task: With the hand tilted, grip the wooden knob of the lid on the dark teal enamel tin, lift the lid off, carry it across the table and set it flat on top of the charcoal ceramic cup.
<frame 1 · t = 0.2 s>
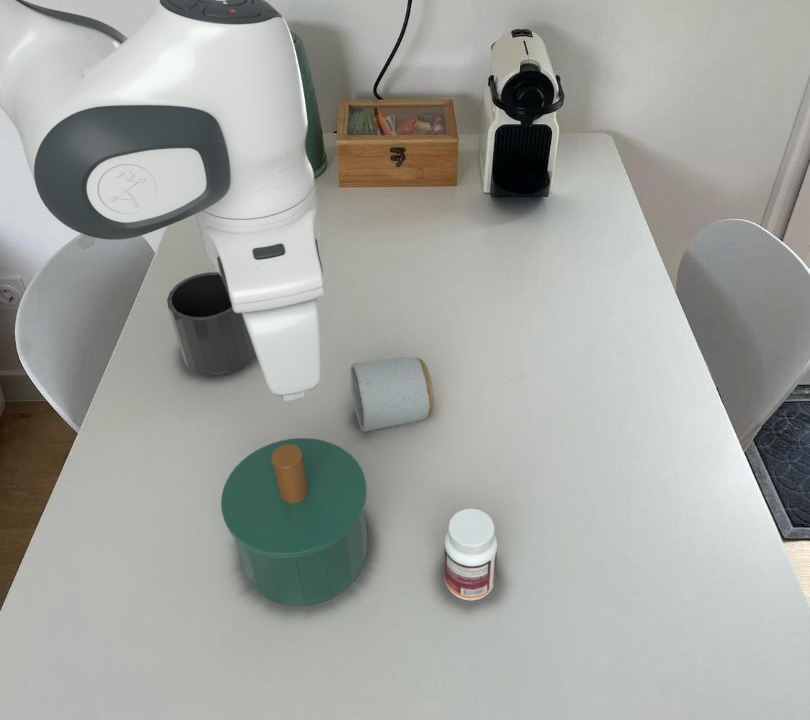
hand: (283, 355, 69), 21 cm above the table, tool pointing down, fingers open, 8 cm apart
cup: (220, 352, 101), on the table
pill bottle: (469, 580, 76), on the table
tin: (305, 550, 79), on the table
ceramic mug: (387, 408, 93), on the table
tin lid: (294, 496, 73), point 8 cm above the table, touching tin
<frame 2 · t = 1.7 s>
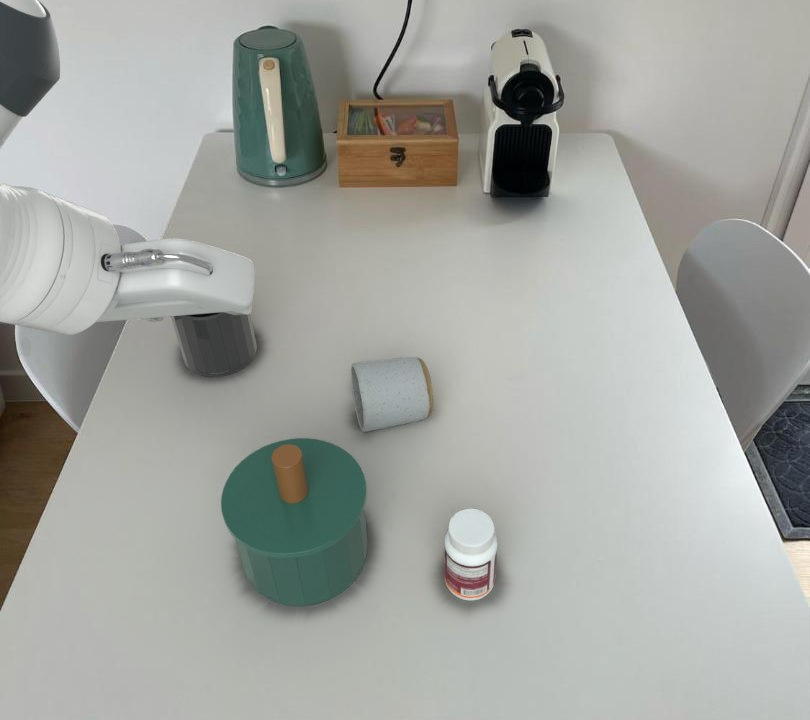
hand: (200, 308, 66), 25 cm above the table, tool tilted 45°, fingers open, 8 cm apart
nothing on the table moved.
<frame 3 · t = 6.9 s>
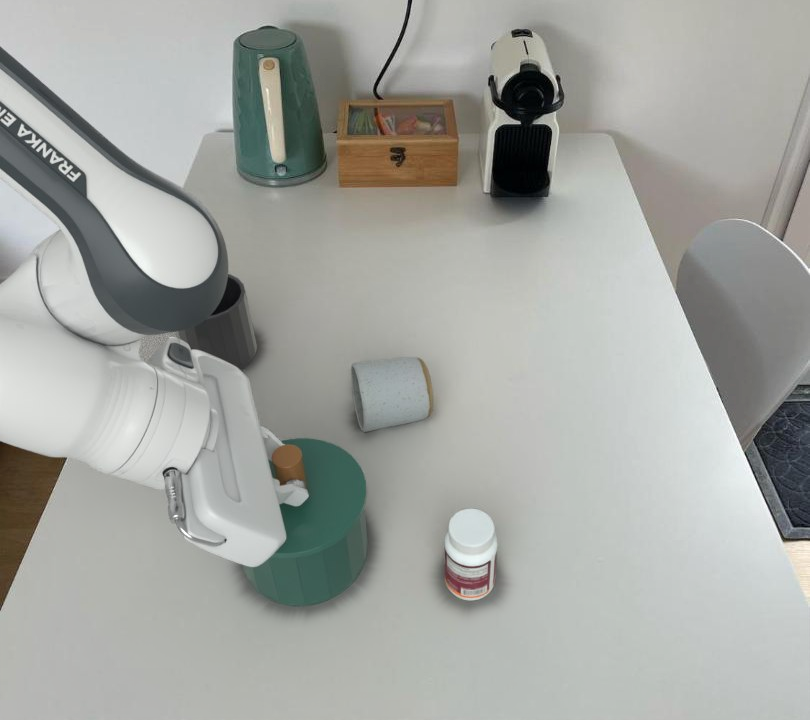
hand: (298, 477, 72), 11 cm above the table, tool tilted 45°, fingers closed on tin lid, 2 cm apart
tin lid: (295, 496, 73), point 9 cm above the table, touching gripper, tin
everything else where it was.
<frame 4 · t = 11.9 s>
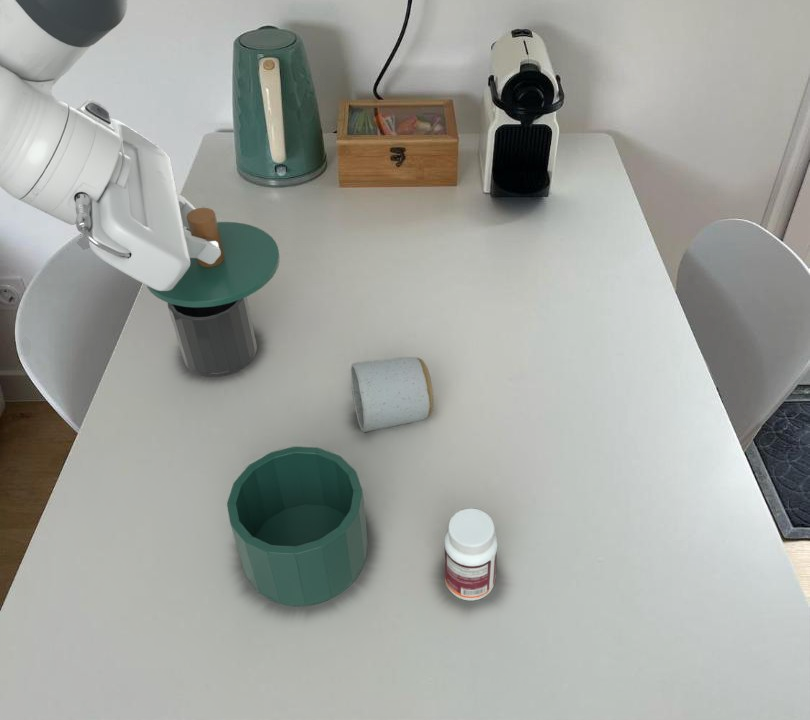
hand: (213, 243, 77), 23 cm above the table, tool tilted 45°, fingers closed on tin lid, 2 cm apart
tin lid: (212, 265, 78), point 21 cm above the table, touching gripper
everything else where it was.
when the fingers open (12 cm above the table, at t = 16.9 s): tin lid stays where it is, resting on cup.
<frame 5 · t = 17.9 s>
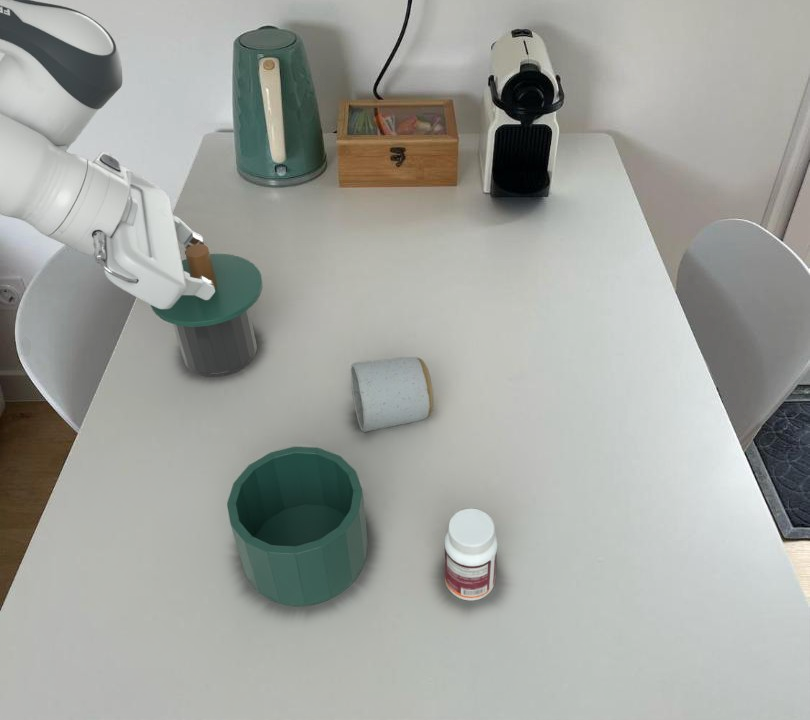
hand: (206, 268, 92), 13 cm above the table, tool tilted 45°, fingers open, 8 cm apart
tin lid: (206, 290, 94), point 10 cm above the table, touching cup
everything else where it was.
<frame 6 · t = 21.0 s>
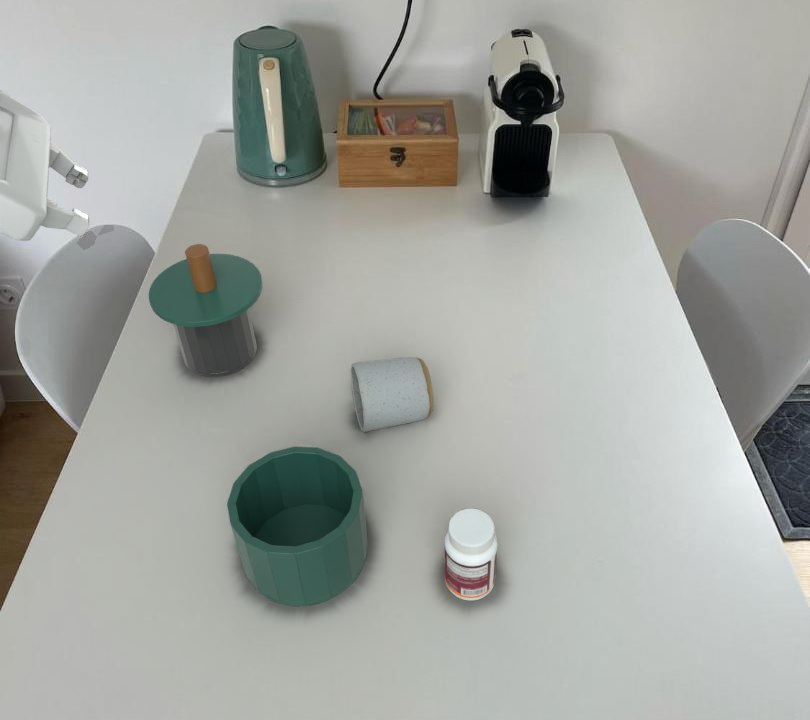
hand: (86, 202, 83), 24 cm above the table, tool tilted 45°, fingers open, 8 cm apart
nothing on the table moved.
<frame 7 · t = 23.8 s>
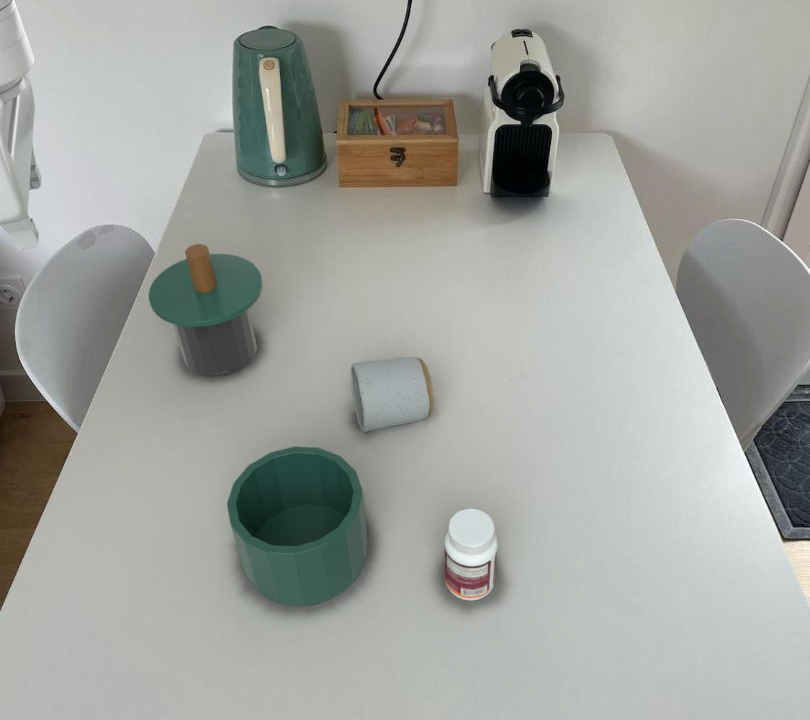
hand: (30, 213, 68), 31 cm above the table, tool pointing down, fingers open, 8 cm apart
nothing on the table moved.
at the end: tin lid 0.2 cm off-centre on the cup, point 9.6 cm above the cup's base; tin lid tilted 0°; tin lid moved 32.2 cm from its start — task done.
